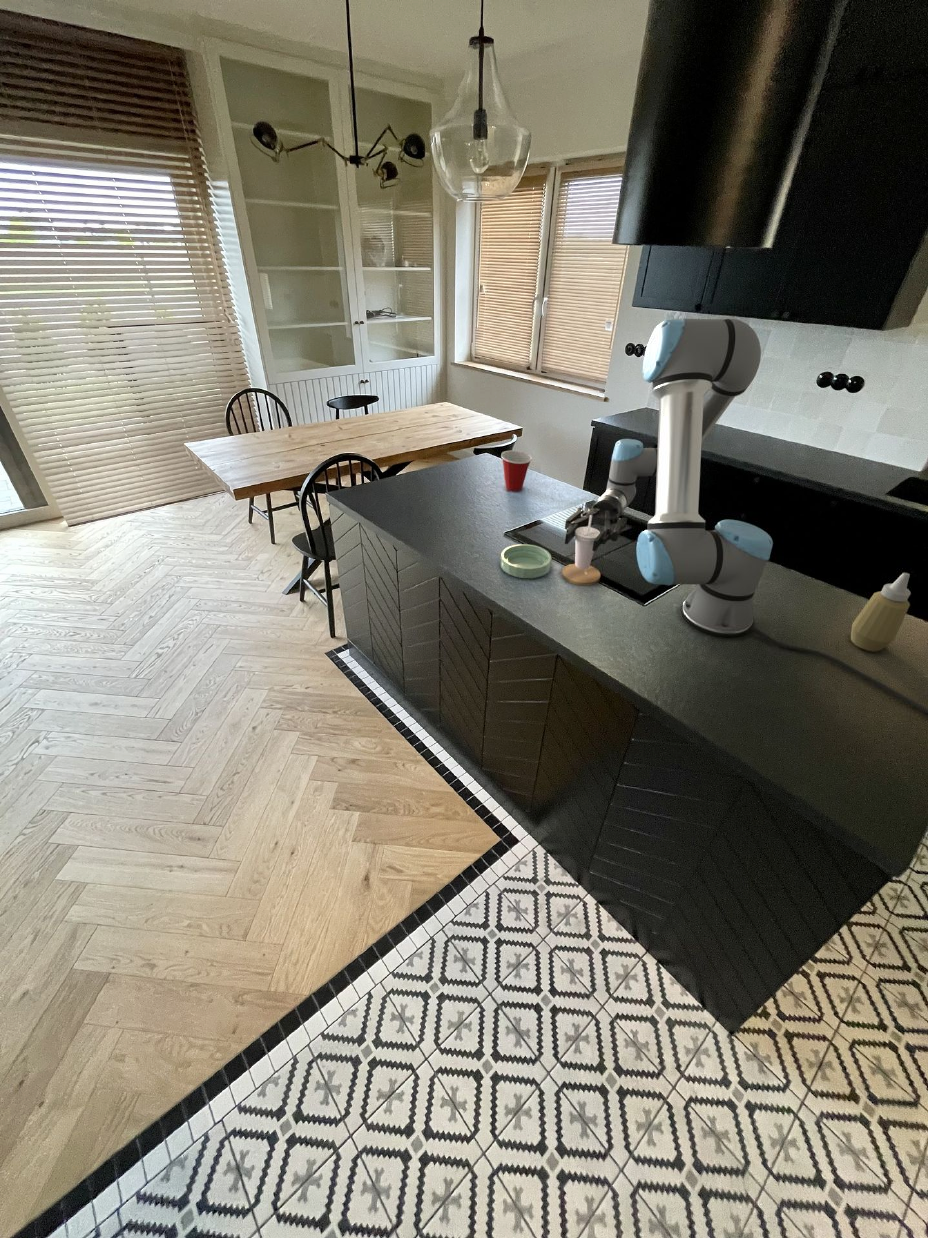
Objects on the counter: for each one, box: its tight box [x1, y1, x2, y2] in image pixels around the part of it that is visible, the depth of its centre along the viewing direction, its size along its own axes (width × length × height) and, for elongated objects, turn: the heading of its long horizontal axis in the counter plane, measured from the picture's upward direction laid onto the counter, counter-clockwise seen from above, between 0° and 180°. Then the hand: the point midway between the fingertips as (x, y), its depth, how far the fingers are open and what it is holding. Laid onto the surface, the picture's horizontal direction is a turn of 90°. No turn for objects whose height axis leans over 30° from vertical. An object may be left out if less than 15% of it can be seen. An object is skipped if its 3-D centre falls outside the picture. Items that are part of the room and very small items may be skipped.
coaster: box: [561, 563, 601, 586], centre depth 140 cm, size 10×10×1 cm
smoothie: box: [574, 515, 601, 569], centre depth 134 cm, size 6×6×14 cm
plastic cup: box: [500, 449, 533, 492], centre depth 185 cm, size 11×11×12 cm
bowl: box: [500, 543, 553, 579], centre depth 143 cm, size 13×13×3 cm
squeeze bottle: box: [850, 572, 912, 652], centre depth 112 cm, size 8×8×18 cm
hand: (580, 542), depth 130 cm, fingers closed on smoothie, 6 cm apart
